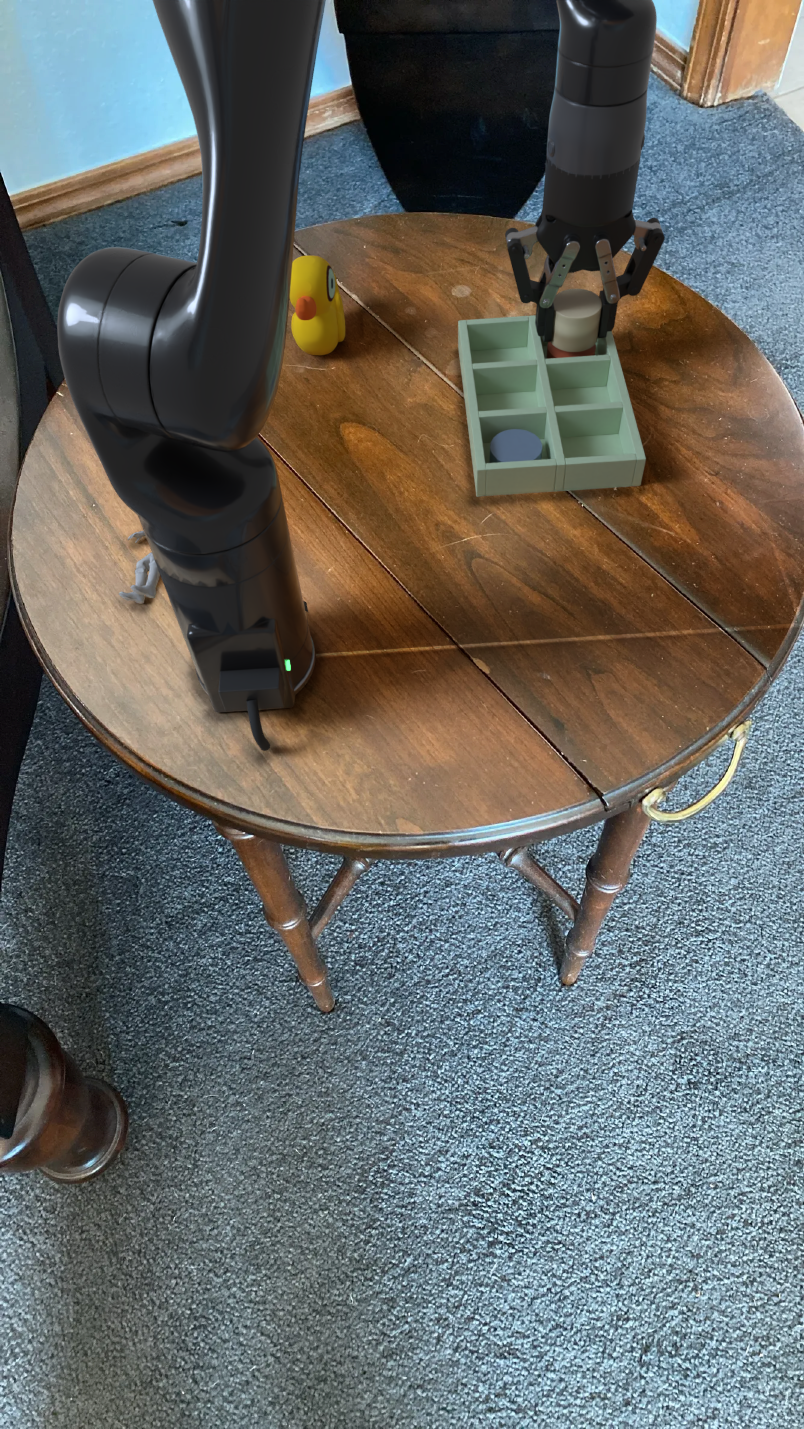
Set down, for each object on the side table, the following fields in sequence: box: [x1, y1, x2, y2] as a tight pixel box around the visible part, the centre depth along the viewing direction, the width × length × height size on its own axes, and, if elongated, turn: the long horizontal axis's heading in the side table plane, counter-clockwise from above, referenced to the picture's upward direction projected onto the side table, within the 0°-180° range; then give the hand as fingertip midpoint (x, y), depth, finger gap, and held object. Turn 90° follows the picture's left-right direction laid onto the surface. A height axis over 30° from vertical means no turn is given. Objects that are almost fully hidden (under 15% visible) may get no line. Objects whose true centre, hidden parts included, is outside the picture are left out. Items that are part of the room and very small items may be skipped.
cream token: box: [551, 288, 602, 352], centre depth 91 cm, size 5×5×4 cm
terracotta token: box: [546, 342, 596, 359], centre depth 94 cm, size 5×5×2 cm
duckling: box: [289, 254, 346, 356], centre depth 95 cm, size 11×5×10 cm, turn 174°
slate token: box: [489, 429, 542, 463], centre depth 86 cm, size 5×5×2 cm
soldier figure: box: [118, 530, 161, 605], centre depth 82 cm, size 8×5×12 cm
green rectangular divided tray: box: [457, 314, 647, 497], centre depth 90 cm, size 14×21×4 cm
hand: (573, 334), depth 92 cm, fingers closed on cream token, 4 cm apart
